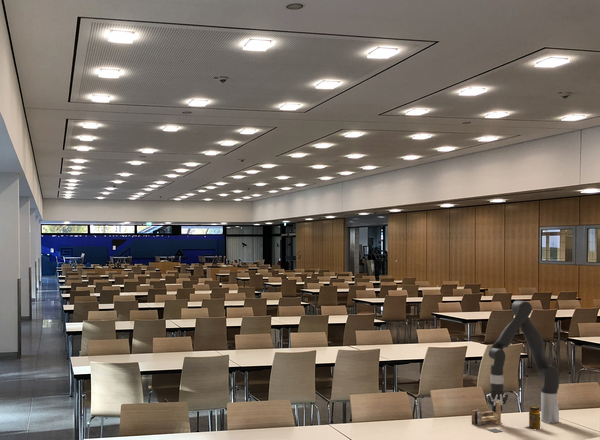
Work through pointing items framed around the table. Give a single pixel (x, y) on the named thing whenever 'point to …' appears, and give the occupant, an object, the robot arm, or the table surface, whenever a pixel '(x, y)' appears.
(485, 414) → the walnut rail
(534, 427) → the condiment
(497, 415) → the wooden frame
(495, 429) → the foot pad
